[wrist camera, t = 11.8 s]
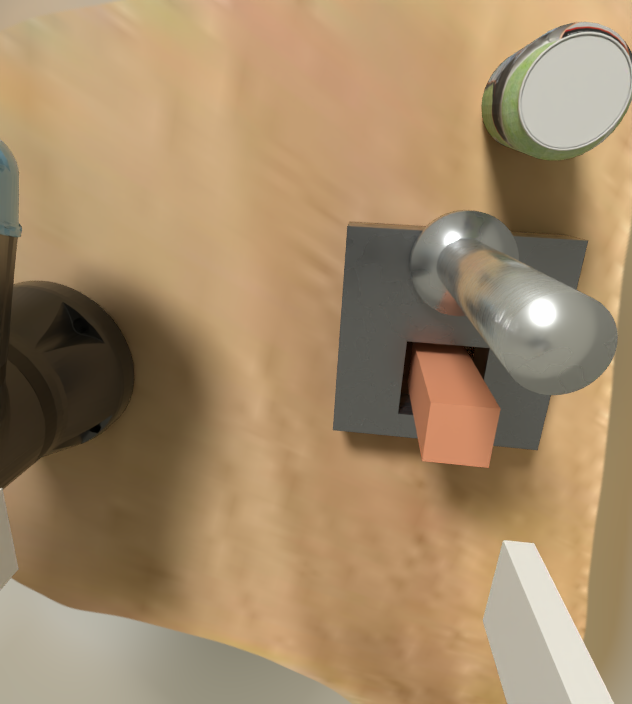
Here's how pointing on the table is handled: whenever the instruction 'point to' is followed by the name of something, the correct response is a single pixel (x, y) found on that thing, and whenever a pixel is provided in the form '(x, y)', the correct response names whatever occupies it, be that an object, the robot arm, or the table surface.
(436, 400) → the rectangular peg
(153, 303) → the table surface
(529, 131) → the beverage can
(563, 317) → the socket base with post
